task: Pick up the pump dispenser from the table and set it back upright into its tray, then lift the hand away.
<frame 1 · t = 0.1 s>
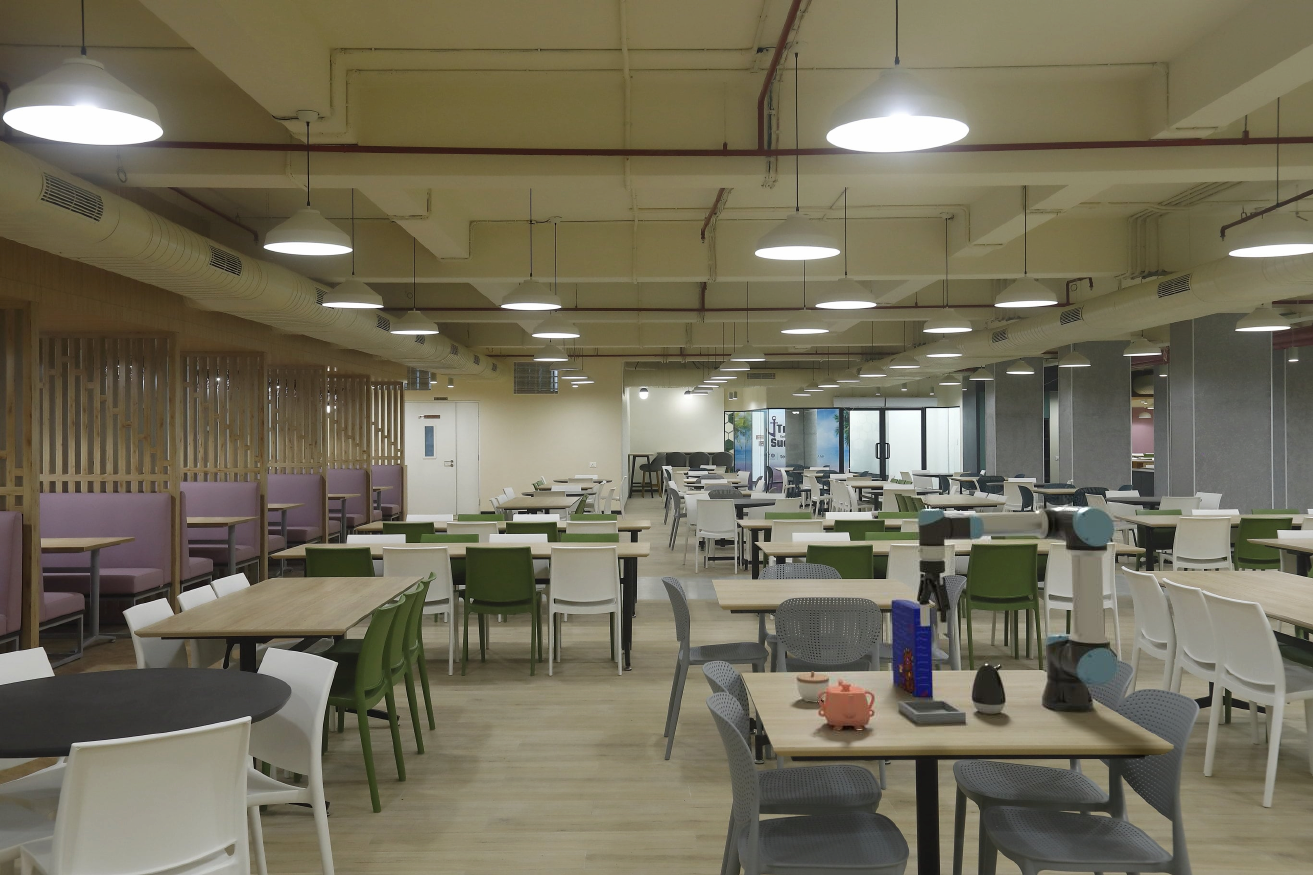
hand: (933, 629, 274), 28 cm above the table, tool pointing down, fingers open, 13 cm apart
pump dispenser: (989, 712, 284), on the table
teapot: (846, 726, 270), on the table
lidded jar: (813, 700, 302), on the table
cereal box: (912, 690, 315), on the table
tray: (931, 716, 280), on the table
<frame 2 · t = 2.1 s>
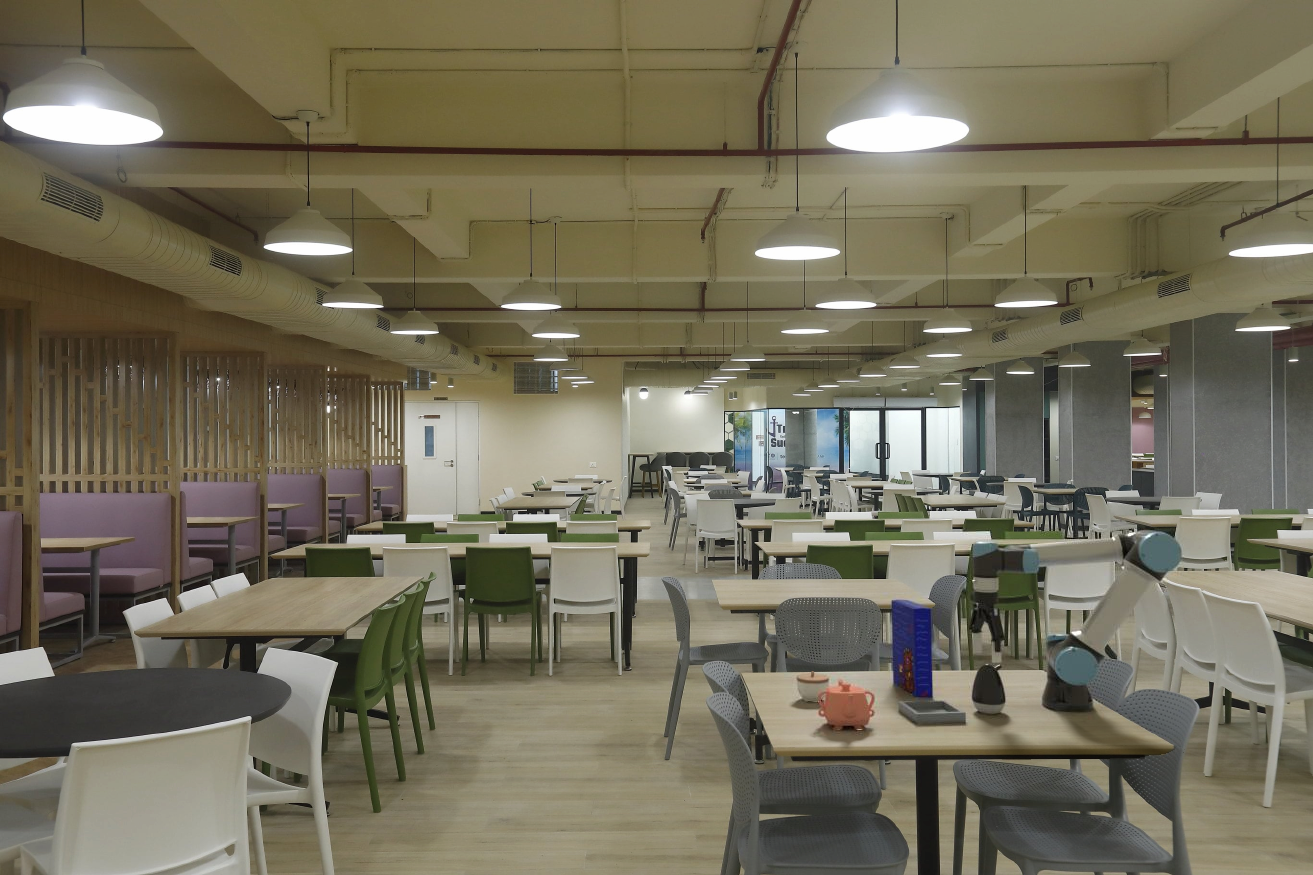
hand: (986, 657, 285), 17 cm above the table, tool pointing down, fingers open, 13 cm apart
nothing on the table moved.
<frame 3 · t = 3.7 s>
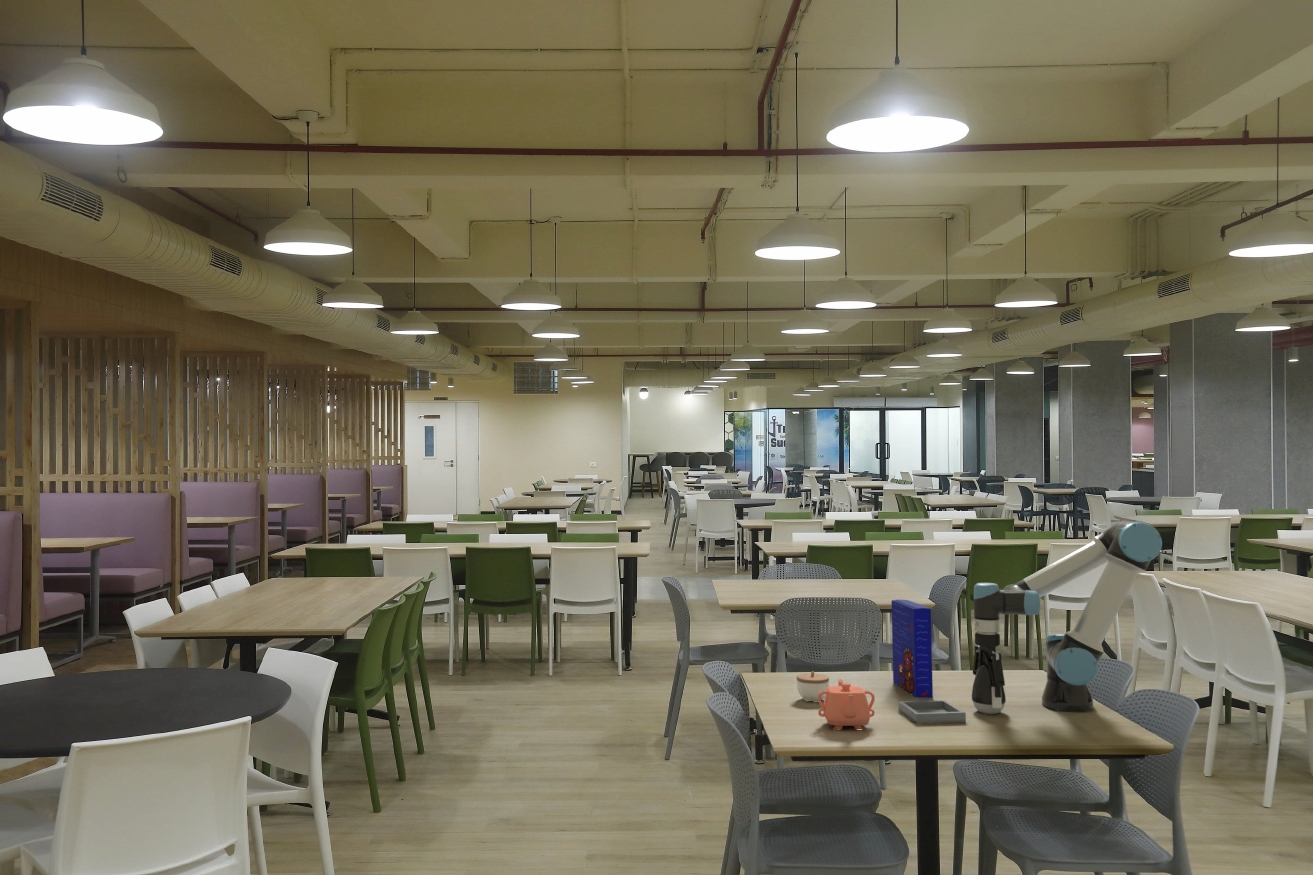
hand: (988, 703, 284), 3 cm above the table, tool pointing down, fingers closed on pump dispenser, 10 cm apart
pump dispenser: (989, 712, 284), on the table, touching gripper
everything else where it was.
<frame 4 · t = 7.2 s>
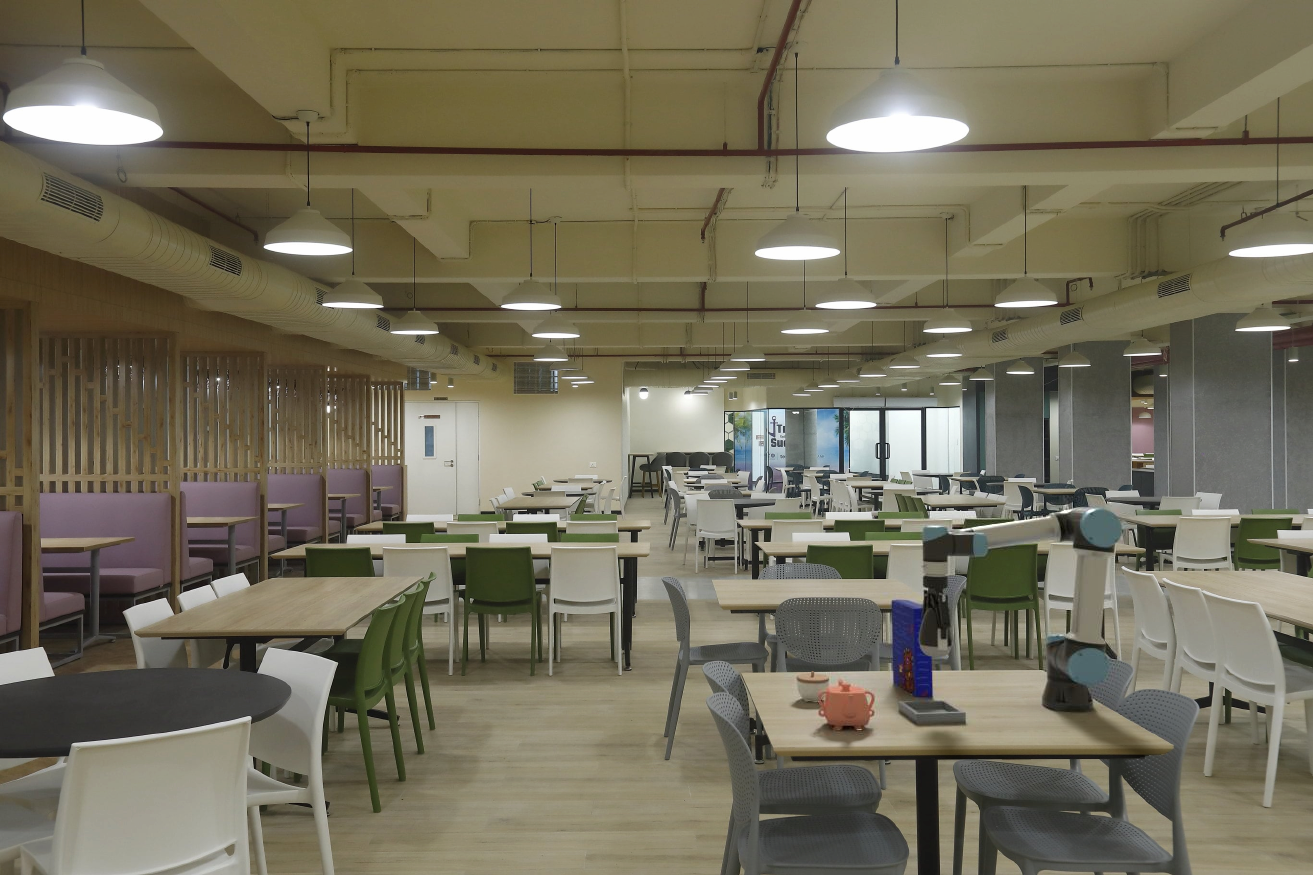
hand: (935, 646, 281), 21 cm above the table, tool pointing down, fingers closed on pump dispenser, 10 cm apart
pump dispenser: (935, 655, 281), point 19 cm above the table, touching gripper
everything else where it was.
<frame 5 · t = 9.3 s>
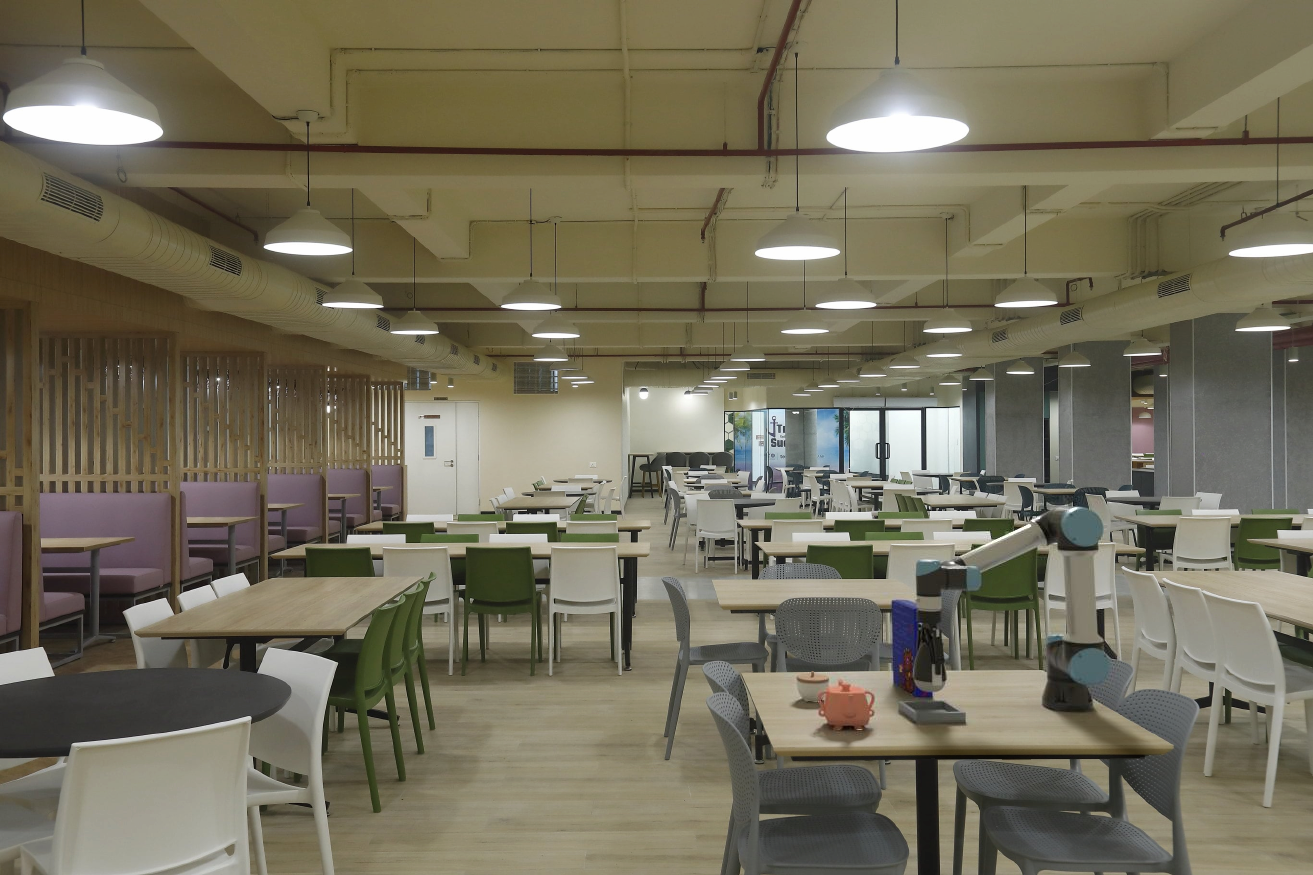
hand: (930, 681, 280), 11 cm above the table, tool pointing down, fingers closed on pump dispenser, 10 cm apart
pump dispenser: (930, 690, 280), point 8 cm above the table, touching gripper
everything else where it was.
when the fingers open (6 cm above the table, at t = 10.9 s): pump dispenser drops 2 cm, resting on tray.
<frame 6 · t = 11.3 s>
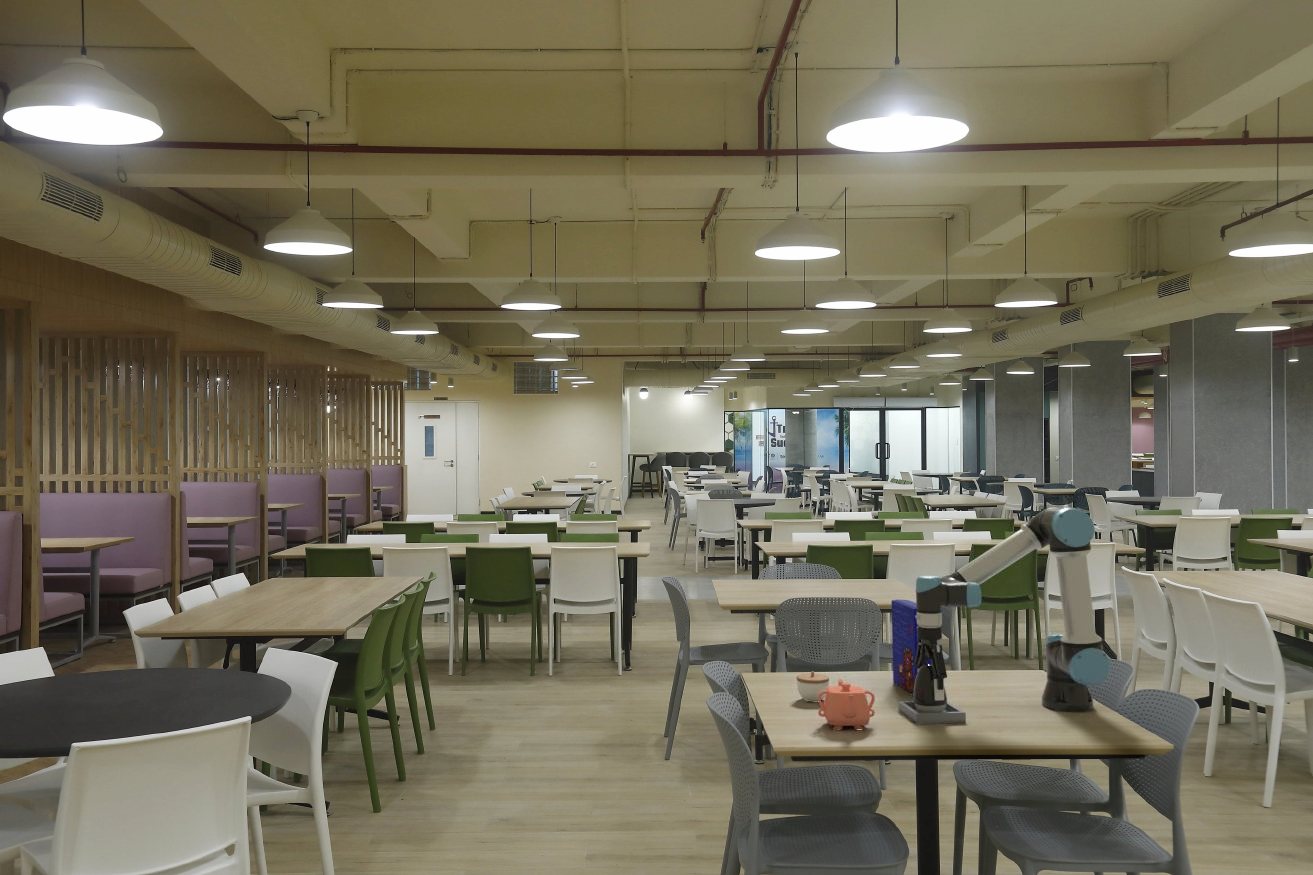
hand: (930, 694, 280), 7 cm above the table, tool pointing down, fingers open, 13 cm apart
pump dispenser: (931, 713, 280), point 1 cm above the table, touching tray
everything else where it was.
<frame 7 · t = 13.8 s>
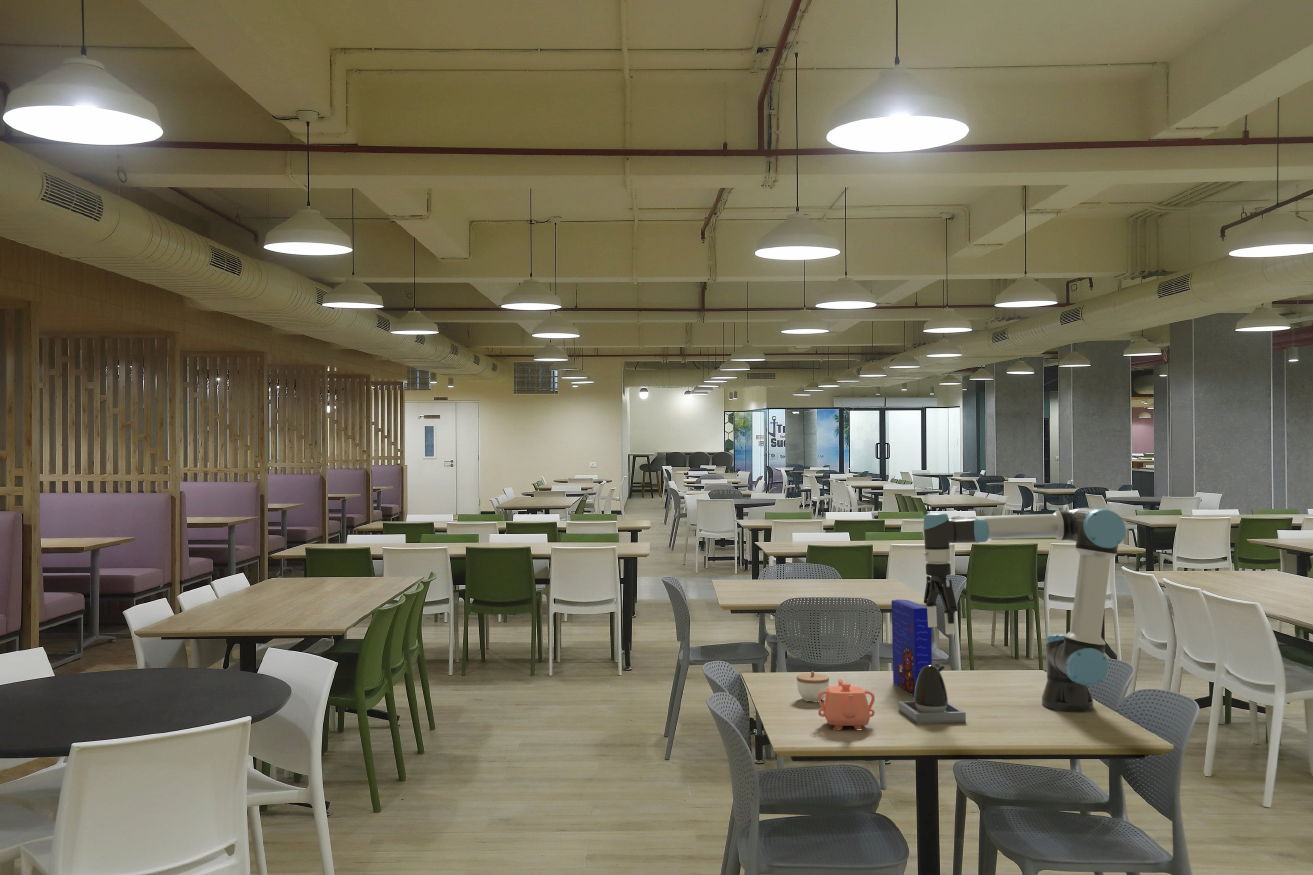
hand: (941, 630, 282), 26 cm above the table, tool pointing down, fingers open, 13 cm apart
nothing on the table moved.
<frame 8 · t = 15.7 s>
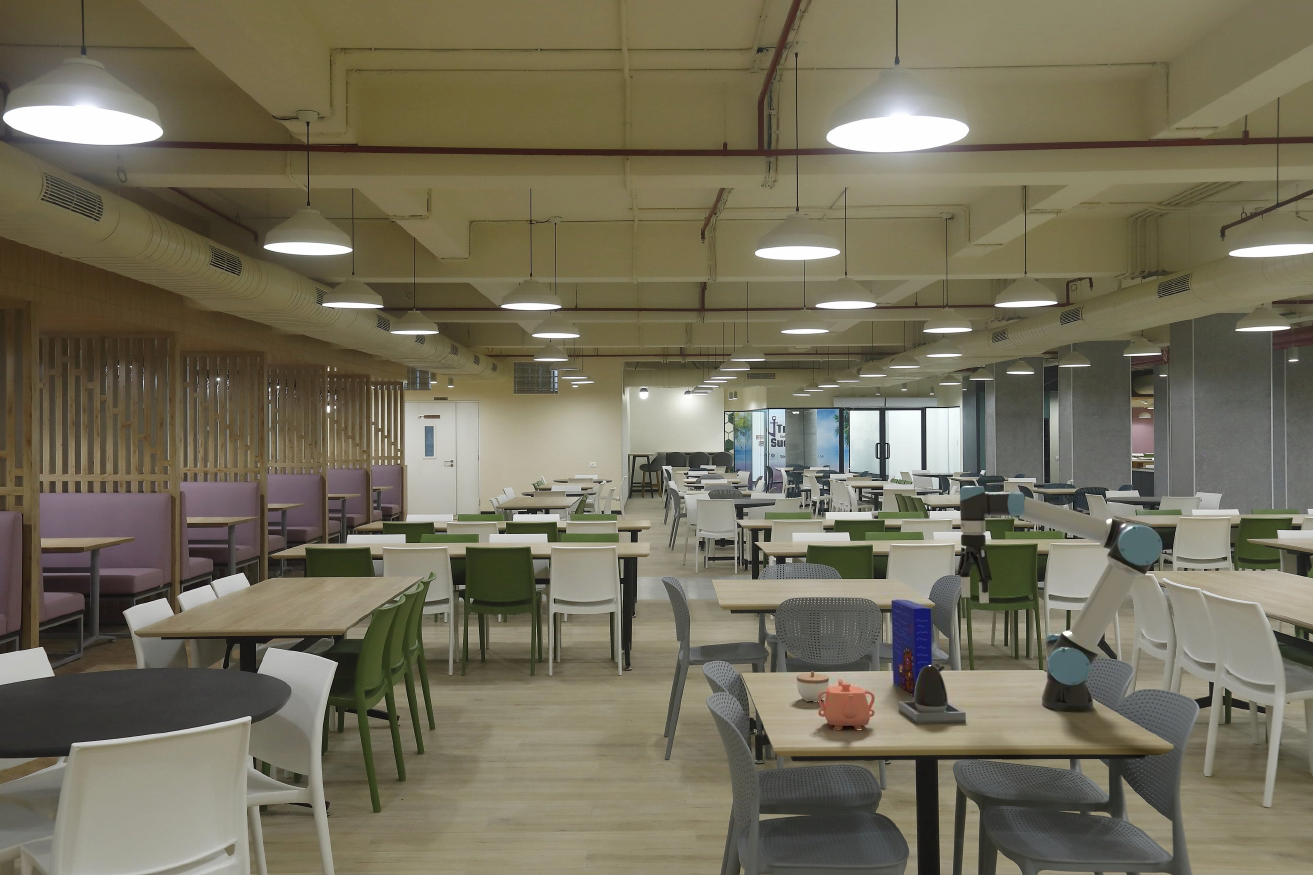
hand: (974, 599, 290), 35 cm above the table, tool pointing down, fingers open, 13 cm apart
nothing on the table moved.
at the end: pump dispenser 0.0 cm off-centre on the tray, point 0.6 cm above the tray's base; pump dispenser tilted 0°; the gripper is holding nothing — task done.
